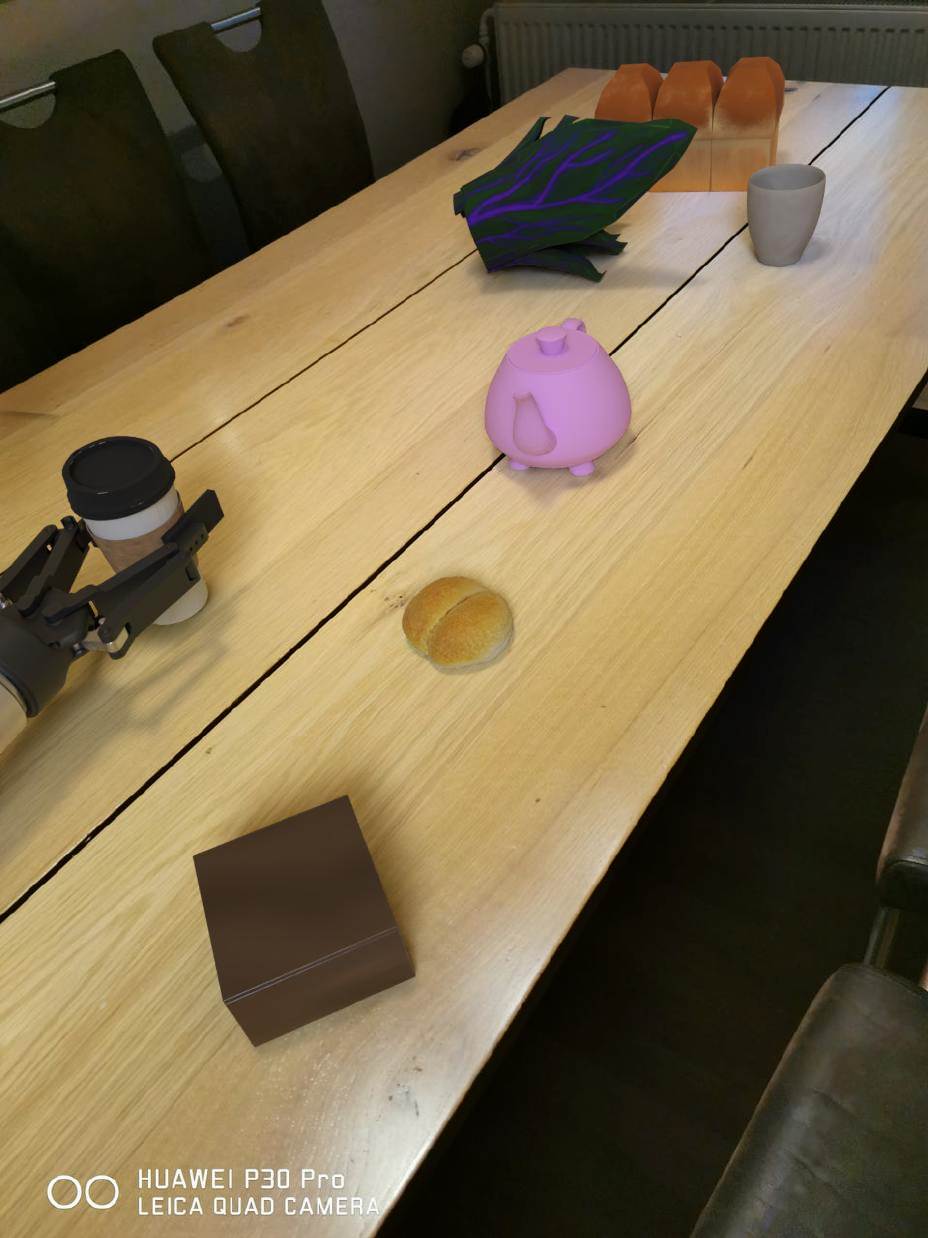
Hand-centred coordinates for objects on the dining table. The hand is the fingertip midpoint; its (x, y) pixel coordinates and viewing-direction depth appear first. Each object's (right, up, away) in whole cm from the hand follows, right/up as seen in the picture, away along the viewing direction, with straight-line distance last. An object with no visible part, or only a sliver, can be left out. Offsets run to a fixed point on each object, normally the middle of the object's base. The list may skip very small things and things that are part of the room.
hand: (176, 495), depth 81 cm
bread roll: (+24, -12, -4) cm, 27 cm away
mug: (+64, +36, +39) cm, 83 cm away
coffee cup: (-1, -9, +3) cm, 10 cm away
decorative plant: (+39, +36, +44) cm, 69 cm away
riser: (+15, -31, -22) cm, 41 cm away
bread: (+58, +55, +61) cm, 101 cm away
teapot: (+34, +6, +13) cm, 37 cm away
